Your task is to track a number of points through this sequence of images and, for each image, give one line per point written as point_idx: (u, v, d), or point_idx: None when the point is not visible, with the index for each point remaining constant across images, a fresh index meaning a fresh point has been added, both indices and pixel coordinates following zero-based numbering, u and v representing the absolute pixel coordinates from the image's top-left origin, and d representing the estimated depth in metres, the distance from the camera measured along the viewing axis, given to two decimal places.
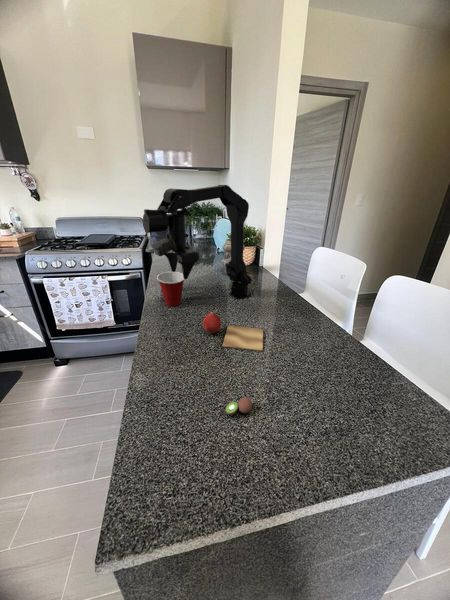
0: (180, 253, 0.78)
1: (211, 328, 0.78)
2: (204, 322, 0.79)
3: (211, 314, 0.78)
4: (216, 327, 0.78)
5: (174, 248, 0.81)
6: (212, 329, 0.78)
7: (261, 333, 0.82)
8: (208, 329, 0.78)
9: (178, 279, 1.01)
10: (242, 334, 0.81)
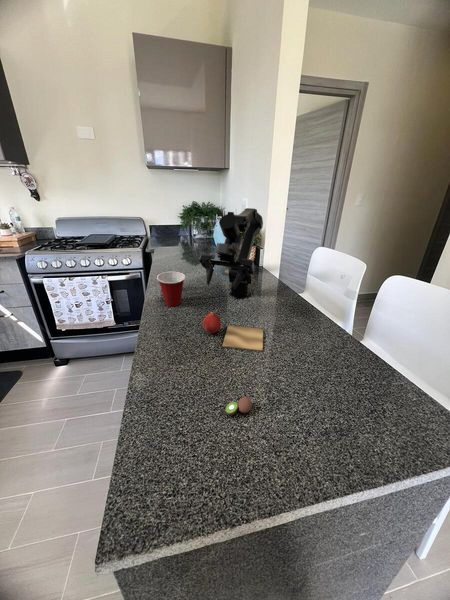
0: (245, 259, 0.82)
1: (211, 328, 0.78)
2: (204, 322, 0.79)
3: (211, 314, 0.78)
4: (216, 327, 0.78)
5: (234, 255, 0.83)
6: (212, 329, 0.78)
7: (261, 333, 0.82)
8: (208, 329, 0.78)
9: (178, 279, 1.01)
10: (242, 334, 0.81)
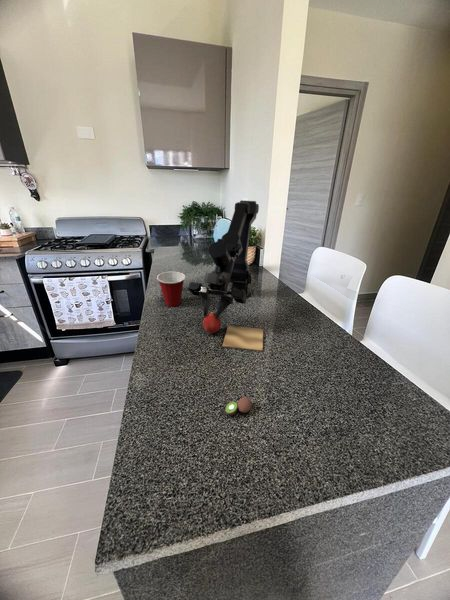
0: (237, 289, 0.77)
1: (211, 328, 0.78)
2: (204, 322, 0.79)
3: (211, 314, 0.78)
4: (216, 327, 0.78)
5: (225, 285, 0.78)
6: (212, 329, 0.78)
7: (261, 333, 0.82)
8: (208, 329, 0.78)
9: (178, 279, 1.01)
10: (242, 334, 0.81)
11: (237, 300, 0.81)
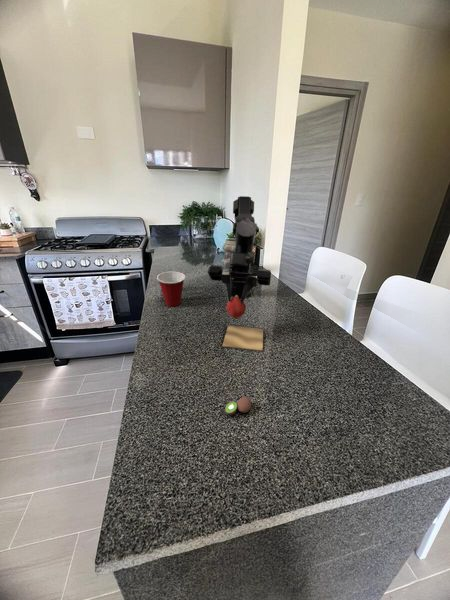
0: (262, 269, 0.73)
1: (237, 312, 0.73)
2: (229, 307, 0.74)
3: (236, 298, 0.74)
4: (242, 311, 0.74)
5: (249, 266, 0.74)
6: (238, 314, 0.74)
7: (261, 333, 0.82)
8: (234, 314, 0.74)
9: (178, 279, 1.01)
10: (242, 334, 0.81)
11: (260, 282, 0.77)
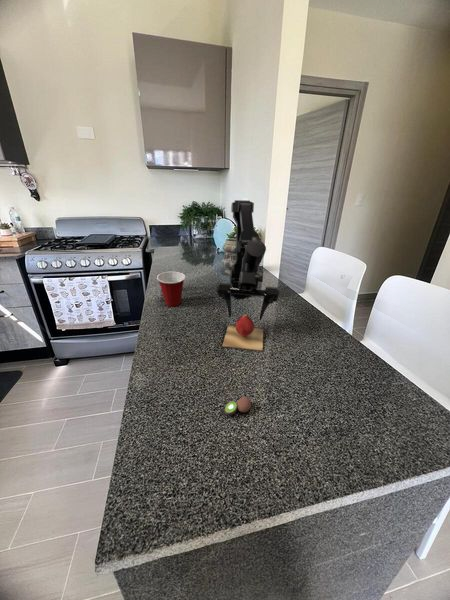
0: (270, 287, 0.75)
1: (246, 331, 0.76)
2: (238, 326, 0.76)
3: (245, 317, 0.76)
4: (251, 330, 0.77)
5: (257, 283, 0.76)
6: (247, 332, 0.76)
7: (261, 333, 0.82)
8: (243, 332, 0.76)
9: (178, 279, 1.01)
10: None
11: None
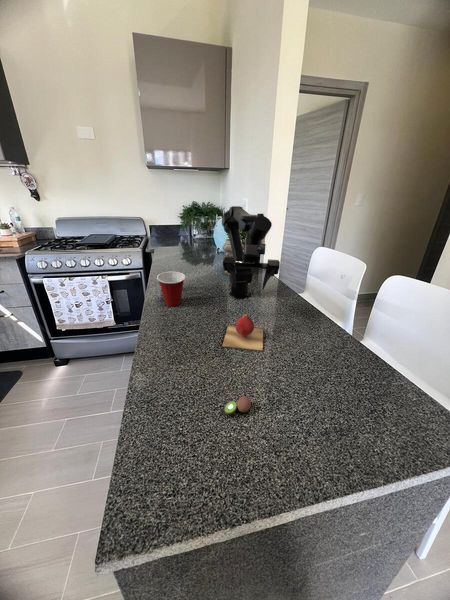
0: None
1: (246, 331, 0.76)
2: (238, 326, 0.76)
3: (245, 317, 0.76)
4: (251, 330, 0.77)
5: None
6: (247, 332, 0.76)
7: (261, 333, 0.82)
8: (243, 332, 0.76)
9: (178, 279, 1.01)
10: None
11: None
